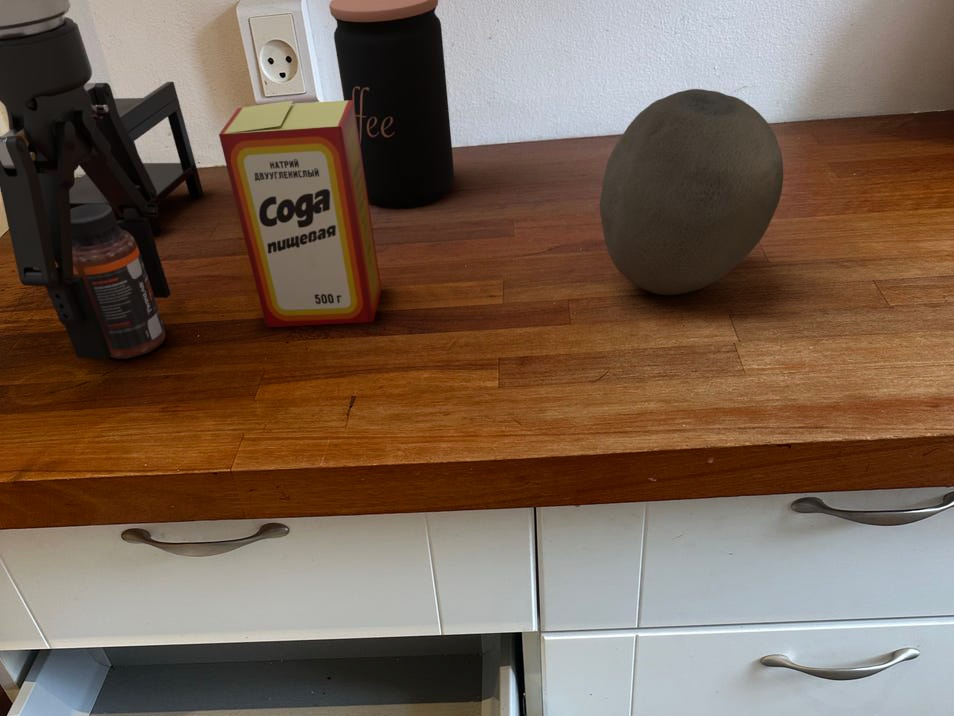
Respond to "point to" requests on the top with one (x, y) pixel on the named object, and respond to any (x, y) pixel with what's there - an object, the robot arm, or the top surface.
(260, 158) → the baking soda box
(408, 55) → the coffee jar
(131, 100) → the rack
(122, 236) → the supplement bottle
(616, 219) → the dark grey oval lump
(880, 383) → the top surface
